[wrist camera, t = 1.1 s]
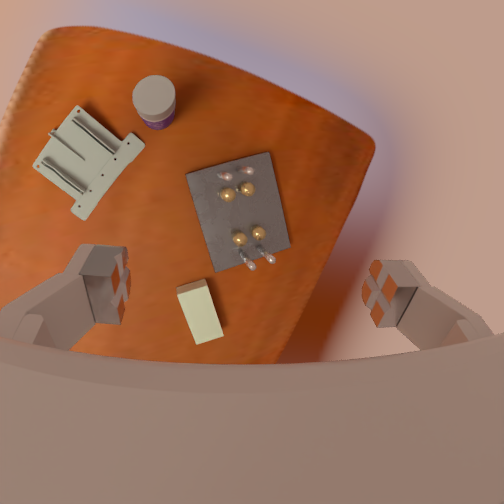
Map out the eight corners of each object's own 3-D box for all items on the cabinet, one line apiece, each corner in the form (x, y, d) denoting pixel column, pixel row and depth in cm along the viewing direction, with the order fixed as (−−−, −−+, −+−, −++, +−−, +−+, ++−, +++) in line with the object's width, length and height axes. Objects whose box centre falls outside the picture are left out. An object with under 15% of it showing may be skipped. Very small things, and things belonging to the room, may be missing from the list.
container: (149, 135, 41) (140, 123, 27) (139, 107, 39) (125, 84, 25) (178, 122, 41) (182, 105, 28) (168, 95, 40) (167, 67, 26)
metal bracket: (18, 177, 32) (81, 89, 31) (27, 168, 37) (84, 91, 36) (90, 229, 41) (152, 151, 40) (91, 215, 46) (147, 145, 45)
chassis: (287, 244, 52) (305, 258, 45) (214, 269, 50) (222, 287, 43) (266, 151, 46) (283, 151, 39) (185, 174, 44) (188, 177, 37)
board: (220, 326, 54) (224, 335, 51) (194, 334, 53) (196, 344, 50) (204, 277, 50) (207, 285, 47) (176, 286, 49) (177, 294, 46)
